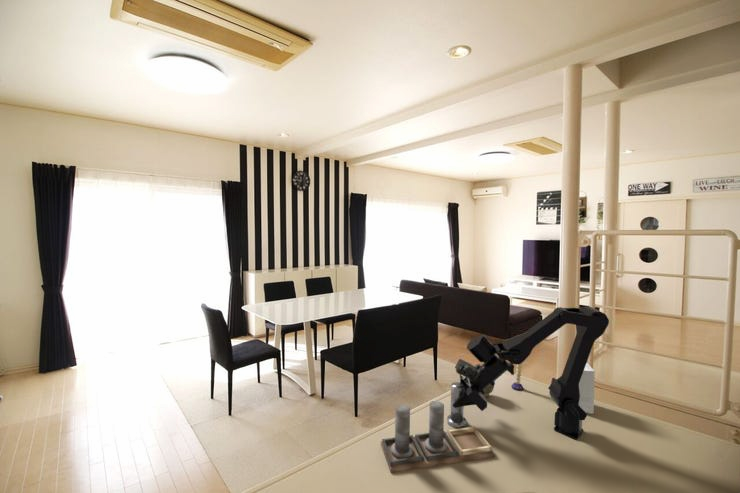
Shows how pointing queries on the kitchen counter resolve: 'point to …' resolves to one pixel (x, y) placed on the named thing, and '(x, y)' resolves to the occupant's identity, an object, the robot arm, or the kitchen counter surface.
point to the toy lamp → (518, 379)
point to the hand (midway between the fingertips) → (452, 402)
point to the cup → (488, 390)
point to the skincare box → (587, 390)
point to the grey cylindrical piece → (457, 413)
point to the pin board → (431, 442)
